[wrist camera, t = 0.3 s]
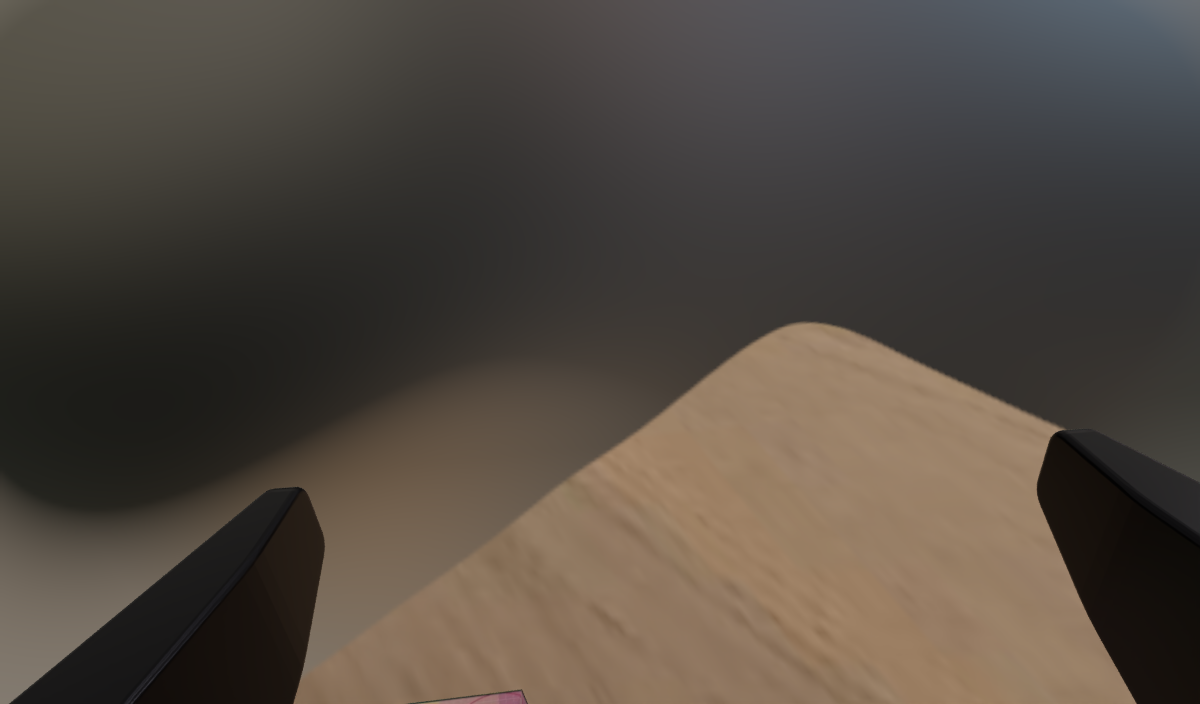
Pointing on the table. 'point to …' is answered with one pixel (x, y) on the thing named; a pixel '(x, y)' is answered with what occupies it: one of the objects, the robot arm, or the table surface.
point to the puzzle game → (484, 699)
